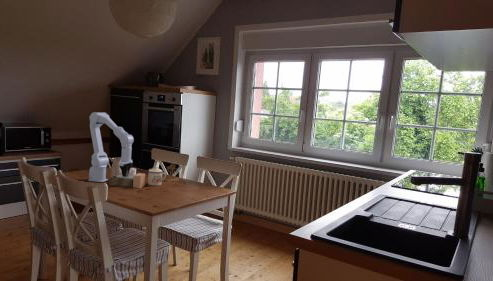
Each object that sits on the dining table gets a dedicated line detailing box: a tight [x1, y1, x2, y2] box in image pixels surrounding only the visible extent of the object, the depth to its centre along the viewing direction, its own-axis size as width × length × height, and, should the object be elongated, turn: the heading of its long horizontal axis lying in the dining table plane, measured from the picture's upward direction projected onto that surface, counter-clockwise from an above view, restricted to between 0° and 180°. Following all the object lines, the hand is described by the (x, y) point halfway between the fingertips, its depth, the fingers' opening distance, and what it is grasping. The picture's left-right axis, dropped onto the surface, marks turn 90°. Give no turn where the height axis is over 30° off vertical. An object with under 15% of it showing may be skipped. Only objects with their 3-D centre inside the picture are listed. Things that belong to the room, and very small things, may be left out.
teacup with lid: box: [147, 166, 167, 187], centre depth 227 cm, size 12×9×12 cm
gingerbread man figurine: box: [164, 163, 180, 183], centre depth 241 cm, size 9×4×12 cm, turn 129°
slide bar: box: [115, 170, 134, 180], centre depth 218 cm, size 14×3×7 cm, turn 86°
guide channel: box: [108, 175, 133, 188], centre depth 218 cm, size 15×6×4 cm, turn 86°
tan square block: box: [132, 172, 146, 189], centre depth 217 cm, size 4×8×8 cm, turn 176°
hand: (125, 175), depth 218 cm, fingers closed on slide bar, 3 cm apart
